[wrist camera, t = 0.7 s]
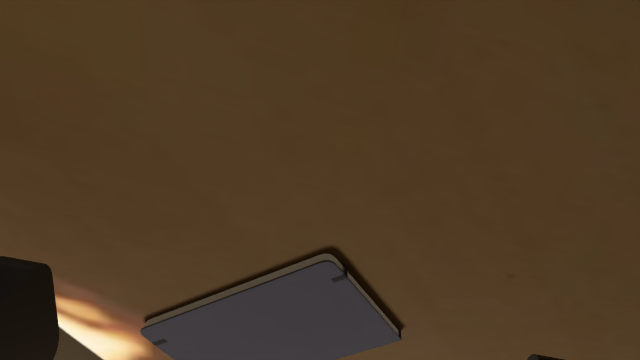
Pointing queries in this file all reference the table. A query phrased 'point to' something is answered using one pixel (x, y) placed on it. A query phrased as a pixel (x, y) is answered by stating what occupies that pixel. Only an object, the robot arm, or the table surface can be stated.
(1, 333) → the robot arm
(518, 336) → the table surface
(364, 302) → the notebook
